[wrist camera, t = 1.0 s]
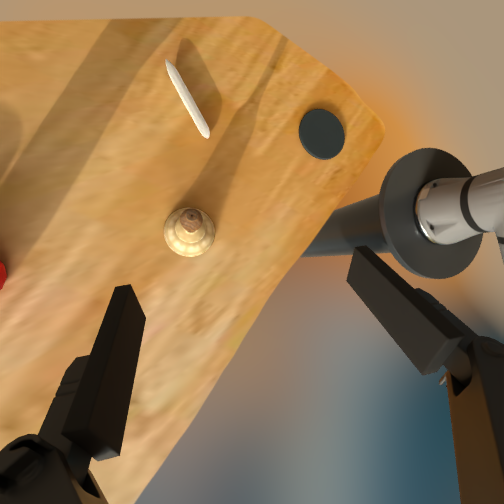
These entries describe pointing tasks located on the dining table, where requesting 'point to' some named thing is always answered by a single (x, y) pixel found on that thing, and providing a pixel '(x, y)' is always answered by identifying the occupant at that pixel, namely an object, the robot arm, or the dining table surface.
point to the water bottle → (2, 275)
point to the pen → (187, 100)
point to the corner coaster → (321, 134)
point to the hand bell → (189, 232)
